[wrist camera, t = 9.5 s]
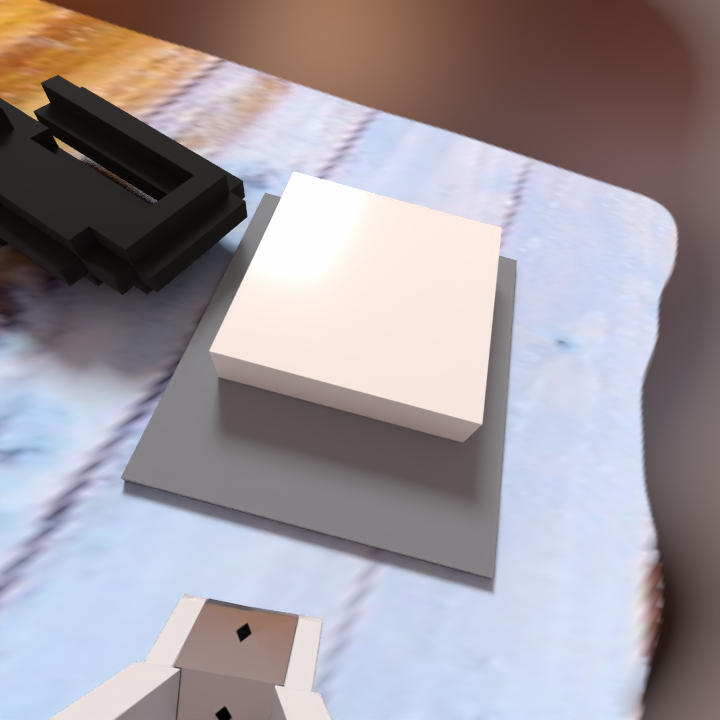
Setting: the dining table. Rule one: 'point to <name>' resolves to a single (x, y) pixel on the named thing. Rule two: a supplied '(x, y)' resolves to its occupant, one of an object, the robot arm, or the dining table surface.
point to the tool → (107, 193)
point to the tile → (367, 309)
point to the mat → (329, 448)
